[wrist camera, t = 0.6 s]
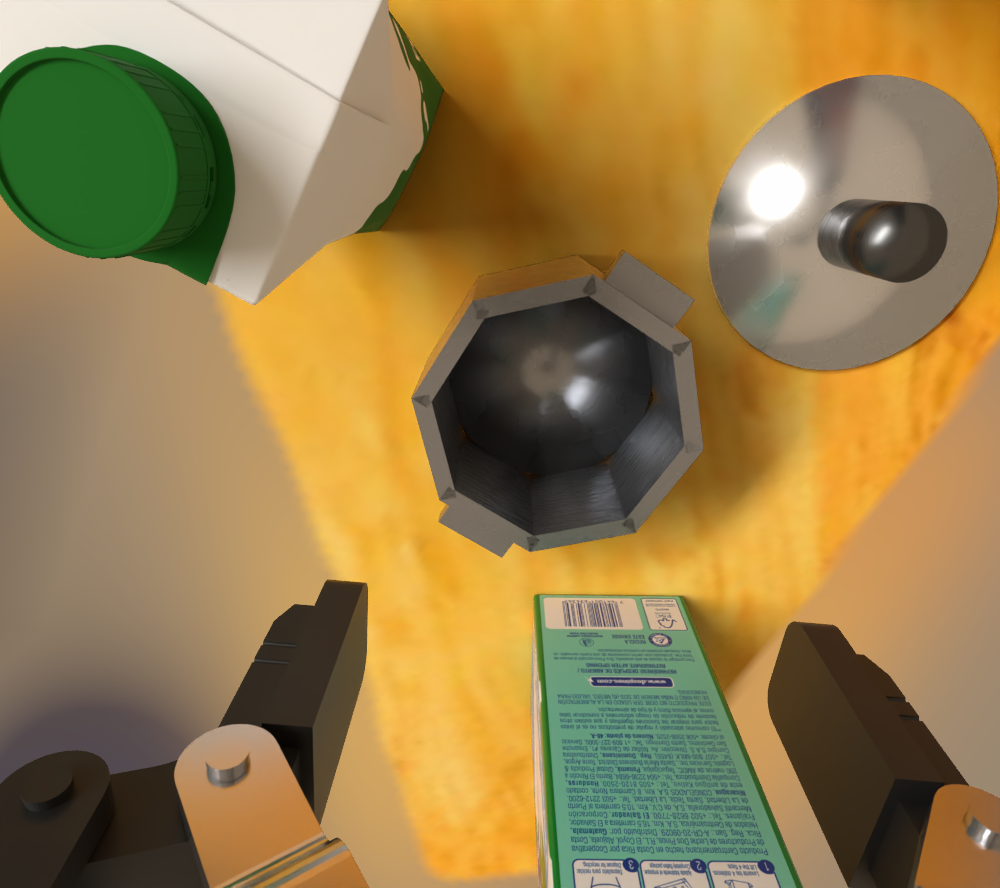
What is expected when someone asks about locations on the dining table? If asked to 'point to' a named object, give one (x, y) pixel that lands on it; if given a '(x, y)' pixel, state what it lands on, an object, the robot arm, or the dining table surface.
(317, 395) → the dining table surface
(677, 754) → the milk carton
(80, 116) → the soya milk
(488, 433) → the pot
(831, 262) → the lid
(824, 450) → the dining table surface
